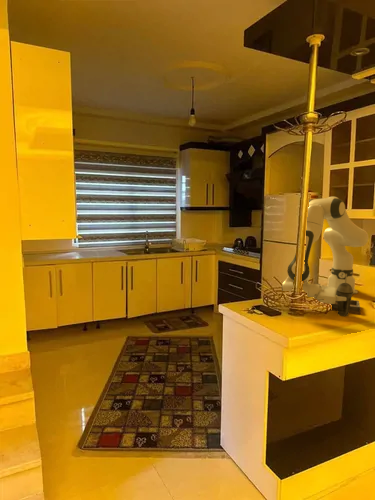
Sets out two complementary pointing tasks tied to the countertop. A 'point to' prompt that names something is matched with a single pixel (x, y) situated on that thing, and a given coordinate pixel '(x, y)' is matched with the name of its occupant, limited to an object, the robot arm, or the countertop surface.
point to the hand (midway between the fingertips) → (346, 296)
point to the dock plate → (353, 307)
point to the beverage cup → (344, 291)
